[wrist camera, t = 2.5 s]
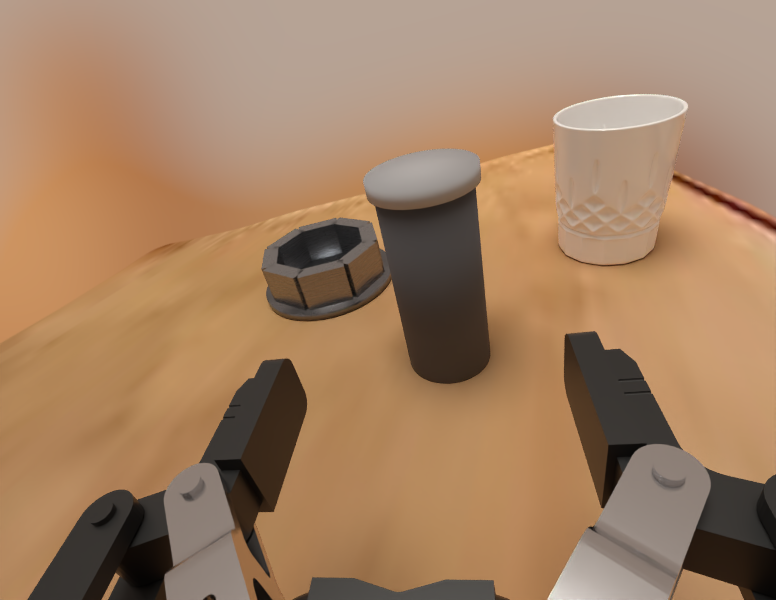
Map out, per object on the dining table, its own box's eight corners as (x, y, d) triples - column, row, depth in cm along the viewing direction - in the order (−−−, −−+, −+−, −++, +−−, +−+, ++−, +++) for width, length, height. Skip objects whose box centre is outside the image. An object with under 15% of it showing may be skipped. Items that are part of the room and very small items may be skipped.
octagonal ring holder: (243, 303, 38) (226, 268, 36) (326, 243, 45) (316, 210, 43) (335, 334, 32) (322, 294, 30) (417, 259, 38) (410, 221, 36)
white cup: (584, 214, 39) (591, 93, 33) (682, 233, 34) (710, 93, 28) (531, 253, 35) (529, 125, 30) (630, 282, 30) (651, 133, 24)
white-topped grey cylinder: (388, 370, 28) (339, 189, 21) (434, 318, 31) (404, 148, 24) (468, 399, 24) (441, 196, 18) (509, 338, 28) (499, 149, 21)
